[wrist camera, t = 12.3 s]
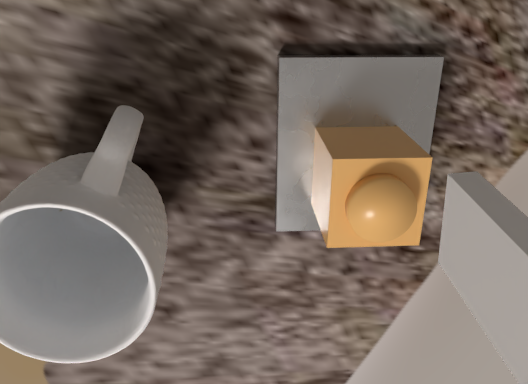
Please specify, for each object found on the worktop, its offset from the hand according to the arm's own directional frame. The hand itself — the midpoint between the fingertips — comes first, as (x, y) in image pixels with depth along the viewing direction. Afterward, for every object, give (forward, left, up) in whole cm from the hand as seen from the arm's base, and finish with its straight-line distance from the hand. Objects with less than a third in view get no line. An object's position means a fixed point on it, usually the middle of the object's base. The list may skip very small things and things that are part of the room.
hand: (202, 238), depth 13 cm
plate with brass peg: (+6, +10, -26) cm, 28 cm away
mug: (+9, -9, -26) cm, 29 cm away
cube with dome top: (+7, +10, -24) cm, 27 cm away
